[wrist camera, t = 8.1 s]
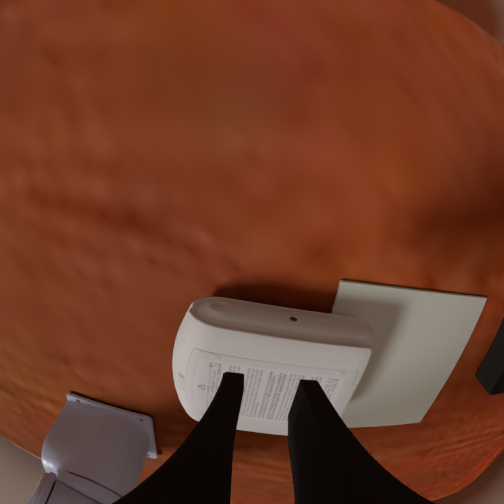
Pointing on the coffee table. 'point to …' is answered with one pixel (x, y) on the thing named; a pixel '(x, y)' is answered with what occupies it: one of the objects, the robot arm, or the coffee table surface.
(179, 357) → the photo printer
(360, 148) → the coffee table surface
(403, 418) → the mat
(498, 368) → the coral
